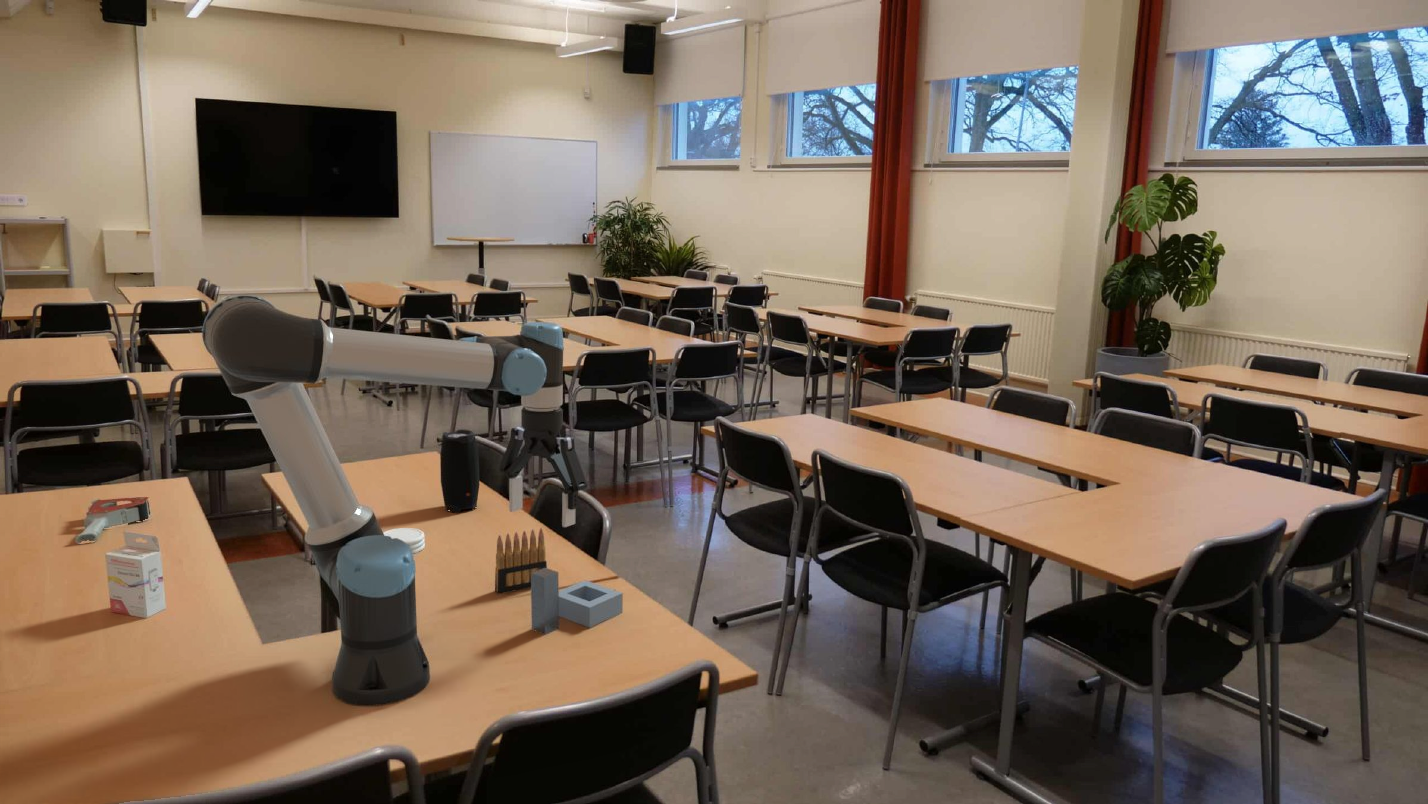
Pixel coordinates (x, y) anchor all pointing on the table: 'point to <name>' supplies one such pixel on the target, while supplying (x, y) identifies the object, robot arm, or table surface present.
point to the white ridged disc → (408, 537)
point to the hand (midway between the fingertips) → (541, 517)
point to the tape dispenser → (112, 515)
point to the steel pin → (545, 600)
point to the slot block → (589, 603)
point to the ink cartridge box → (136, 577)
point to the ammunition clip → (518, 562)
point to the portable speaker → (459, 470)
